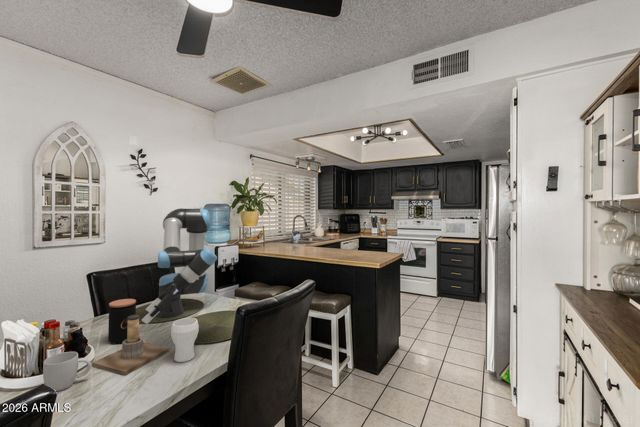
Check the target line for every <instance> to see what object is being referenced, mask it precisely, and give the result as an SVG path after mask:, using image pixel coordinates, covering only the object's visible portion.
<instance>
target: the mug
mask: <svg viewBox="0 0 640 427" xmlns="http://www.w3.org/2000/svg"><path fill="white" fill-rule="evenodd" d="M79 363H85V364H86V365H87V368H86V370H84V371H83V372H81V373H78V367H79ZM91 369H92V361H91V360H89V358H85V357H82V358H80V357H79V353H78V352H77V351H66V352H60V353H57V354H53V355H51V356H49V357H47V358H46V359H44V360H43V367H42V377H43V383H44V386H45V385H48V386H50V387H52V388H53V389H55V390H56V392H60V391H63V390H66V389H68V388H70V387H71V386H72V385H73V384H74V382H75V379H79V378H83V377H85V376H86V375H87V374H88V373H89V372H90V370H91ZM77 373H78V374H77Z"/></svg>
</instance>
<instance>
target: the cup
mask: <svg viewBox="0 0 640 427" xmlns="http://www.w3.org/2000/svg"><path fill="white" fill-rule="evenodd" d="M170 328H171V329H170V338H171V341H172V342H173V344H174V346H175V352H174V358H173V359H174V361H175V362H177V363H184V362H189V361H190V360H193V359H194V357H195V356H196V355H195V349H194V347H195V346H194V345H195V342H196V339H197V338H198V333H199V332H200V331H199V328H200V325H199V322H198V319H197V318H194V317H185V318H180V319H177V320H174V321H173V323H172V324H171V327H170Z"/></svg>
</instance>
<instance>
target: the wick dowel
mask: <svg viewBox="0 0 640 427" xmlns="http://www.w3.org/2000/svg"><path fill="white" fill-rule="evenodd" d="M139 335H140V315H139V314H136V315H131V316H128V325H127V343H135V342H138V341H139V337H140V336H139Z"/></svg>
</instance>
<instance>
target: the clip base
mask: <svg viewBox="0 0 640 427" xmlns="http://www.w3.org/2000/svg"><path fill="white" fill-rule="evenodd" d="M169 352H170V347H164V346H160V345H156V344H151V343H149V342H148V343H147V342H144V337H142V336H139V341H138V342H135V343H127V339H126V340H124V341H123V342H122V344H121V349H119V350H116V351H114V352H112V353H111V354H108V355H105V356H103V357H101V358H99V359H97V360H95V361H91V368H92V367H93V368H96V369H99V370H104V371H108V372H111V373H114V374H118V375H122V376H127V375H128V374H131V373H133V372H135V371H137V370H138V369H140V368H142V367H143V366H146V365H148V364H149V363H151V362H153V361H155V360H156V359H159V358H160V357H162V356H164V355H165V354H168V353H169Z"/></svg>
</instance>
